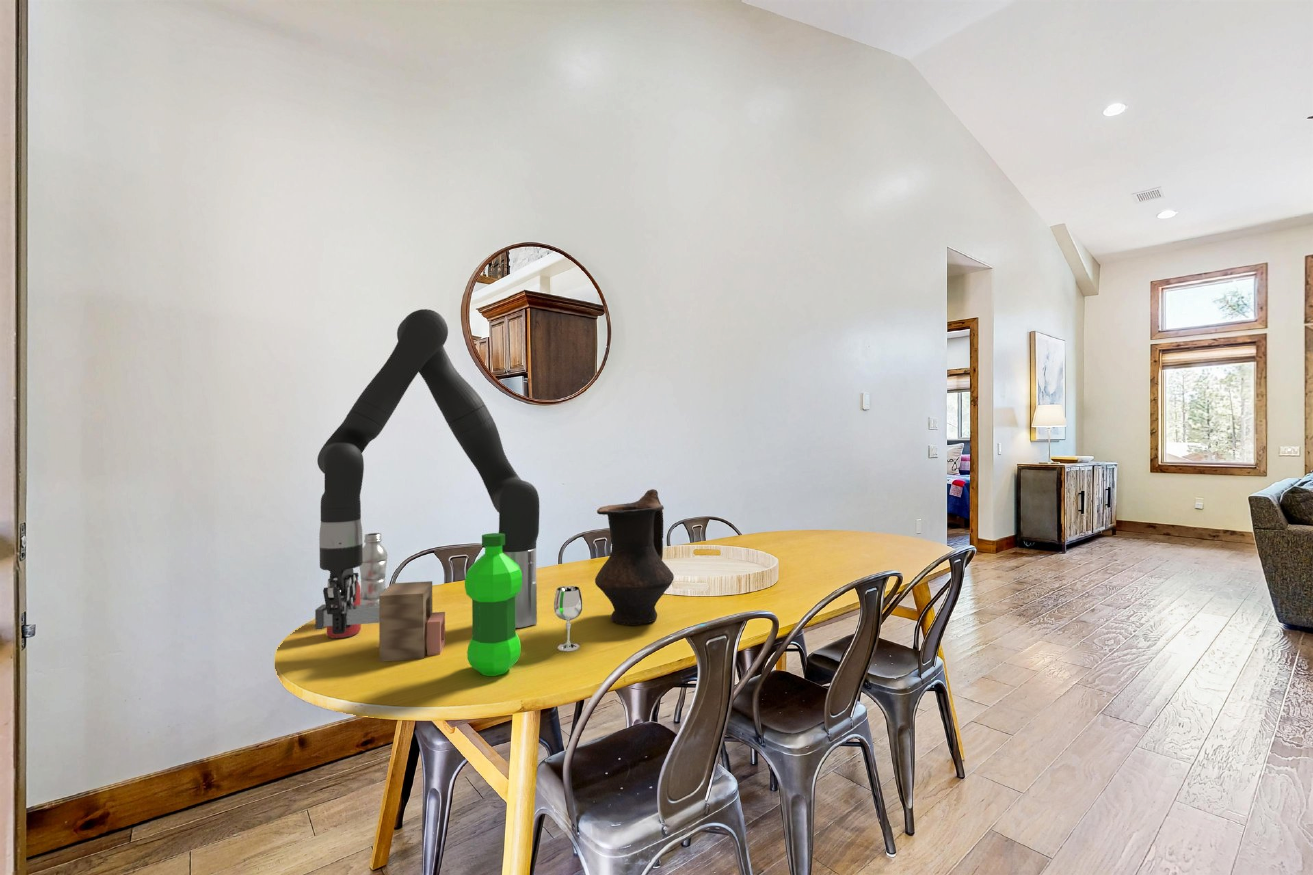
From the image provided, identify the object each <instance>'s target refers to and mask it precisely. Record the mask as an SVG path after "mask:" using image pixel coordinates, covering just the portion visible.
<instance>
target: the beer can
mask: <svg viewBox="0 0 1313 875" xmlns="http://www.w3.org/2000/svg"><path fill="white" fill-rule="evenodd" d="M360 594H361V584H360V583H359V582H358V583H357V592H356V601H355V602H353V605H360ZM335 606H337V605H335ZM361 625H362V624H354V625H351V626H350V627H349V628H346V631H345V632H344V633H343V634H333V631H332V626H326V635H327V637H329V638H330V639H331V638H332V639H346V638H349V637H352V636H353V637H354V636H356V635H358V634H359V633H360V631H361V629H362V628H361Z"/></svg>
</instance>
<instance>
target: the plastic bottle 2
mask: <svg viewBox="0 0 1313 875" xmlns="http://www.w3.org/2000/svg"><path fill="white" fill-rule="evenodd" d="M502 545H505V534H503V533H499V532H493V533H484V534H482V535H481V546H482V547H484V554H483V555H482V556H480V557H479V558H478V559H477V560H476V561H475V562H474V563H473V564H472V565H471V566H470V567H469V568H468V570H467V572H466V575H465V578H464V589H465V593H466V595H467V596H468V598H470V599H471V605H472V607H471V608H472V610H471V612H472V613H471V614H472V617H471V620H472V626H471V627H472V630H471V631H472V635H471V636H472V637H471V638H470V640H469V642H468V643H469V644H468V647H467V650H466V654H467V655H466V656H467V657H466V659H467V662H468V664H469V665H470V666H471V668H473V669H474V670H476V671H477V672H479V674H480V675H483V676H487V677H489V676H490V677H496V676H499V675H500V676H501V675H503V674H506V673H507V672H508V671H510V670H509V669H511V668H512V667H513V666H514V665H515V664H516V663H517V662H518V660H519V658H520V656H521V652H522V648H521V647H522V646H521V640H520V638H519V635H518V633H517V632H516V628H515V596H516V595H517V594H518V593H519V592H520V591H521V586H522V573H521V570H520V567H519V565H517V564H516V563H515V562H514V561H513V560H512V559H510V558H509V557H508V556H506V555H505V554H504V553H502Z"/></svg>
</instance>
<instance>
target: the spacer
mask: <svg viewBox="0 0 1313 875" xmlns="http://www.w3.org/2000/svg"><path fill="white" fill-rule="evenodd" d="M445 644H446V612H445V611H439V612H432V615H431V617H430V618H429V620H428V622H427V653H426V655H427V656H439V655H441V653H442V652H443V648H444V647H445Z"/></svg>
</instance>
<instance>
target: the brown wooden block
mask: <svg viewBox="0 0 1313 875" xmlns="http://www.w3.org/2000/svg"><path fill="white" fill-rule="evenodd" d="M432 613H433V581H432V580H430V581H429V580H428V581H411V582H396V583H395V582H393V583H390V584H389V585H388V587H387V588H386V590H385V591H384V592H383V593H382V594H381V595H380V596H379V623H378V625H379V630H378V632H379V635H378V636H379V637H378V638H379V646H378V647H379V648H378V649H379V663H382V662H383V663H384V662H397V661H409V660H410V661H411V660H422V659H425V657H426V655H427V622H428V620H429V618H430V617H431V615H432Z"/></svg>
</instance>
